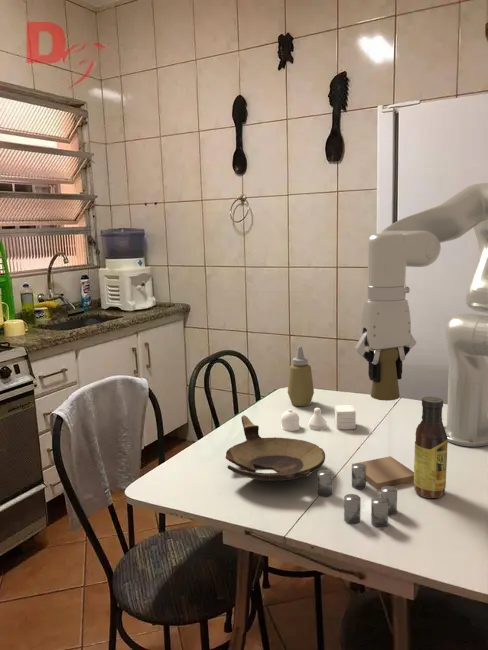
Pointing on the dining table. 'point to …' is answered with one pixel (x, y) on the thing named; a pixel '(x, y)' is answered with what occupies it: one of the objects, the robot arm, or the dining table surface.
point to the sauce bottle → (430, 451)
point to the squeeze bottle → (300, 380)
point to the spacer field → (353, 502)
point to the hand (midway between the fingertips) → (385, 378)
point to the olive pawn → (387, 376)
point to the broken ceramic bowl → (273, 456)
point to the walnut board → (387, 473)
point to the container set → (321, 419)
